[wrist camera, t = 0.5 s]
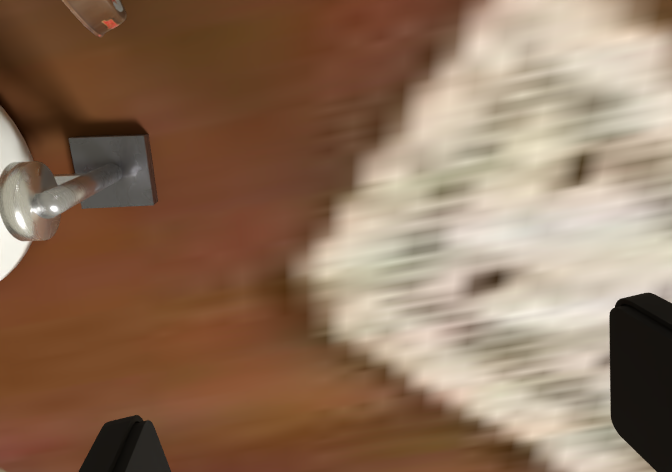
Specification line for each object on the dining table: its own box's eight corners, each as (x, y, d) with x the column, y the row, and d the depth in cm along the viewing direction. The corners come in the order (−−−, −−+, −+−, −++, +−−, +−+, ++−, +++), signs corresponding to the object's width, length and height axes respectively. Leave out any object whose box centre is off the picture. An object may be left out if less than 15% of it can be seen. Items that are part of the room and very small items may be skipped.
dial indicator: (53, 137, 39) (-66, 161, 26) (148, 134, 40) (81, 156, 27) (67, 205, 41) (-37, 262, 28) (157, 201, 42) (100, 254, 28)
